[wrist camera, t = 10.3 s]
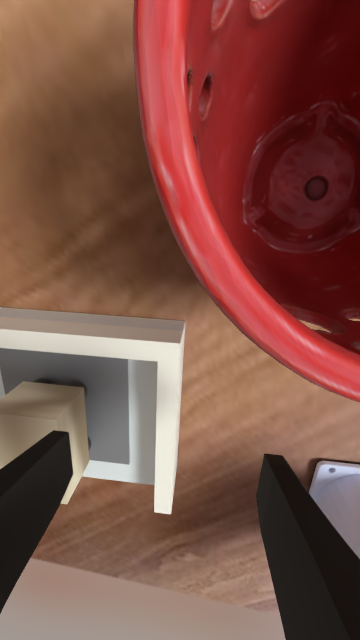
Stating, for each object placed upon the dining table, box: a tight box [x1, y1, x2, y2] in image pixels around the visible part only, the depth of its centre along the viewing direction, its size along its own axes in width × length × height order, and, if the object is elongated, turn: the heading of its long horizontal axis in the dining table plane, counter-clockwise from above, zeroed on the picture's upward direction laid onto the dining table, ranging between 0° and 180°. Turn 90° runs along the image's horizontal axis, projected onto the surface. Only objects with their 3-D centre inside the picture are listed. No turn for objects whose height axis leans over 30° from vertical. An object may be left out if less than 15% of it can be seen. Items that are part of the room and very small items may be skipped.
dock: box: [0, 307, 185, 514], centre depth 18 cm, size 16×13×4 cm
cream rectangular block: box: [0, 378, 91, 504], centre depth 16 cm, size 4×6×4 cm, turn 177°
